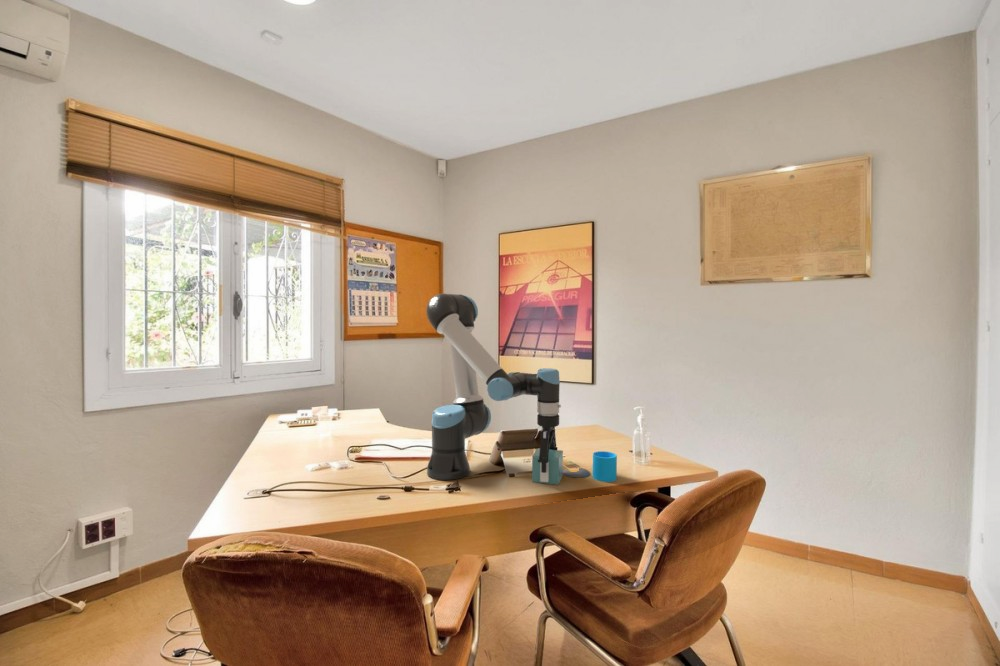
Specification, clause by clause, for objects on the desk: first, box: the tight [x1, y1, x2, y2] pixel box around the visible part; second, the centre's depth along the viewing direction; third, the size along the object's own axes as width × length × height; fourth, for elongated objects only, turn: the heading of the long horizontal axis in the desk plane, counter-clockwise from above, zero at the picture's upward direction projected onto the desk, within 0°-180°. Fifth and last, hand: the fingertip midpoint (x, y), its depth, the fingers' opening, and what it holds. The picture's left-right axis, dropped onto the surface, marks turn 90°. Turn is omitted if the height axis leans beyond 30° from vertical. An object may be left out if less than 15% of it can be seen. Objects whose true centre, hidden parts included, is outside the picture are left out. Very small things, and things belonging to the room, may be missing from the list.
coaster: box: [563, 467, 591, 479], centre depth 167 cm, size 10×10×1 cm
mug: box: [592, 450, 618, 483], centre depth 164 cm, size 12×8×8 cm
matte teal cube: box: [531, 448, 564, 486], centre depth 161 cm, size 9×9×9 cm
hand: (547, 474), depth 161 cm, fingers open, 13 cm apart
